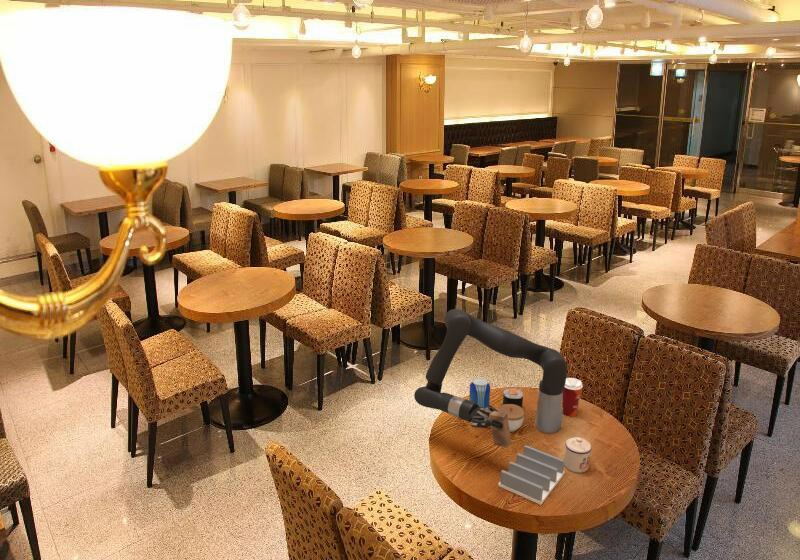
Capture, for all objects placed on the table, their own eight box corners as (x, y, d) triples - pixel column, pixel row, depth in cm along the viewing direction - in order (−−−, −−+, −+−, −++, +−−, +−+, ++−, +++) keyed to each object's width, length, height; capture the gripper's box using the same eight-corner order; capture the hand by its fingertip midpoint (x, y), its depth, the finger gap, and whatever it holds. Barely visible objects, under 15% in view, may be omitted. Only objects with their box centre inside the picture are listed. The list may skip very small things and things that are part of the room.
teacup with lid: (582, 476, 210) (586, 449, 206) (559, 466, 215) (561, 439, 211) (596, 460, 218) (599, 434, 214) (573, 451, 224) (576, 425, 220)
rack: (498, 485, 205) (499, 471, 203) (523, 457, 220) (524, 444, 218) (541, 505, 196) (542, 490, 194) (564, 474, 211) (566, 460, 209)
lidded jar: (521, 437, 233) (523, 416, 230) (494, 432, 236) (495, 411, 233) (524, 422, 242) (526, 402, 239) (498, 418, 246) (500, 398, 242)
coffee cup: (580, 419, 244) (583, 387, 239) (559, 417, 246) (563, 385, 241) (578, 408, 252) (582, 377, 247) (558, 406, 254) (561, 376, 249)
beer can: (489, 420, 244) (491, 386, 238) (469, 420, 244) (471, 386, 239) (487, 409, 252) (489, 376, 246) (467, 409, 252) (469, 376, 247)
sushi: (500, 403, 256) (501, 387, 254) (519, 402, 257) (520, 386, 254) (504, 413, 249) (505, 397, 246) (524, 412, 249) (525, 396, 247)
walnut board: (493, 444, 213) (489, 414, 210) (497, 440, 215) (493, 411, 213) (507, 447, 210) (503, 417, 207) (511, 443, 212) (507, 413, 209)
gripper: (453, 408, 213) (495, 424, 203) (472, 392, 223) (514, 406, 213) (452, 426, 215) (494, 442, 205) (472, 409, 226) (513, 424, 216)
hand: (504, 424), depth 209 cm, fingers closed on walnut board, 2 cm apart
